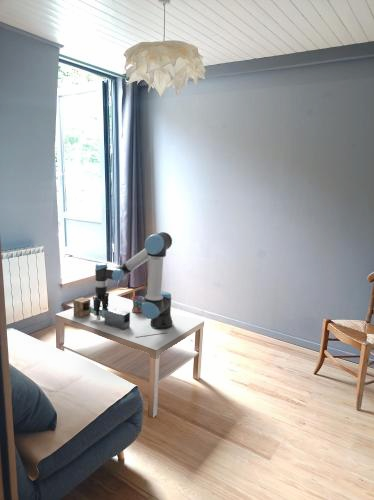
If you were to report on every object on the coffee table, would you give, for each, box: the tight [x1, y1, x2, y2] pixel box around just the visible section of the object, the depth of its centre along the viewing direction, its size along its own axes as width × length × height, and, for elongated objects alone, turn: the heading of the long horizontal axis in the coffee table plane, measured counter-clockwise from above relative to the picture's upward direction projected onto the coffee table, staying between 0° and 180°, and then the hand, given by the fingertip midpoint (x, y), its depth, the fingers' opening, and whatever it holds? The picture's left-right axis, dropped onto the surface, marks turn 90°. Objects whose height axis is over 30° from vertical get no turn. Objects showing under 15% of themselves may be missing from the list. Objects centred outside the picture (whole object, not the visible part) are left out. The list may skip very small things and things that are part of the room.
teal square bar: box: [89, 304, 126, 320], centre depth 251 cm, size 28×6×6 cm, turn 60°
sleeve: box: [104, 306, 131, 331], centre depth 247 cm, size 16×7×10 cm, turn 60°
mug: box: [131, 295, 145, 314], centre depth 276 cm, size 12×9×11 cm
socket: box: [73, 297, 91, 319], centre depth 263 cm, size 8×8×12 cm
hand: (100, 318), depth 255 cm, fingers closed on teal square bar, 4 cm apart
